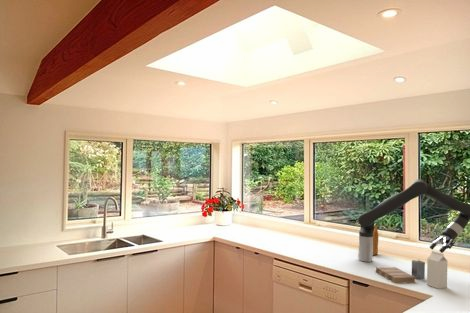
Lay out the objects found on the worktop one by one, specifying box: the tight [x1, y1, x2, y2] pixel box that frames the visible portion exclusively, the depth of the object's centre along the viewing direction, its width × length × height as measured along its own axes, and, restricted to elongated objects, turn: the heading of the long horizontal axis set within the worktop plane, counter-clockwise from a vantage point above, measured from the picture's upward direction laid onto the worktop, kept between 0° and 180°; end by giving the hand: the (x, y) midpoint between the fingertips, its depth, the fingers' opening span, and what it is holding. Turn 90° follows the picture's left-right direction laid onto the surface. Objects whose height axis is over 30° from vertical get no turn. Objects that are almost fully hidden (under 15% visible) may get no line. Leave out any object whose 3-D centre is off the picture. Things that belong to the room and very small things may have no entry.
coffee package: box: [373, 225, 379, 256], centre depth 272 cm, size 10×12×22 cm
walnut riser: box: [375, 266, 416, 284], centre depth 214 cm, size 20×13×3 cm, turn 8°
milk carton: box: [426, 250, 448, 290], centre depth 200 cm, size 7×7×19 cm
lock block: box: [411, 259, 426, 280], centre depth 214 cm, size 5×5×11 cm
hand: (435, 250), depth 217 cm, fingers open, 8 cm apart
